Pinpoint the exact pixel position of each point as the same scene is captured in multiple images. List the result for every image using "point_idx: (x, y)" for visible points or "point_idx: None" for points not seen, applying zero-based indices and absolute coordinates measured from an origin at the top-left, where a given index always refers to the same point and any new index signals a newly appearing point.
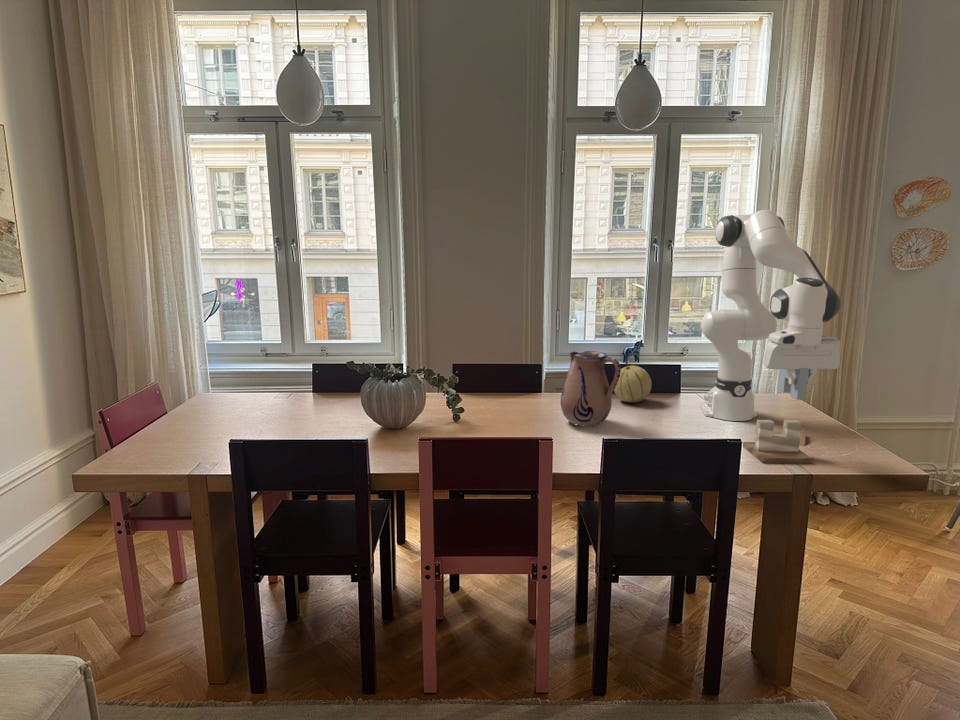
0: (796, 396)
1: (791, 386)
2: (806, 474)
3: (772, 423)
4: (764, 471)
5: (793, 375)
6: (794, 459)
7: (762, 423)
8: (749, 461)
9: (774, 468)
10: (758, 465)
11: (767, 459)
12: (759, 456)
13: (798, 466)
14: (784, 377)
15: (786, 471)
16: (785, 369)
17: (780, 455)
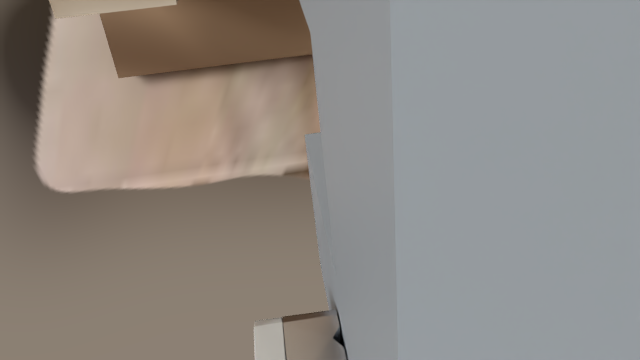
0: (323, 273)
1: (323, 220)
2: (294, 174)
3: (164, 1)
4: (115, 169)
5: None
6: (292, 54)
7: (76, 13)
8: (55, 49)
9: (170, 128)
10: (97, 100)
11: (145, 72)
12: (107, 32)
13: (296, 86)
14: (307, 2)
15: (217, 155)
16: (341, 98)
17: (228, 21)
